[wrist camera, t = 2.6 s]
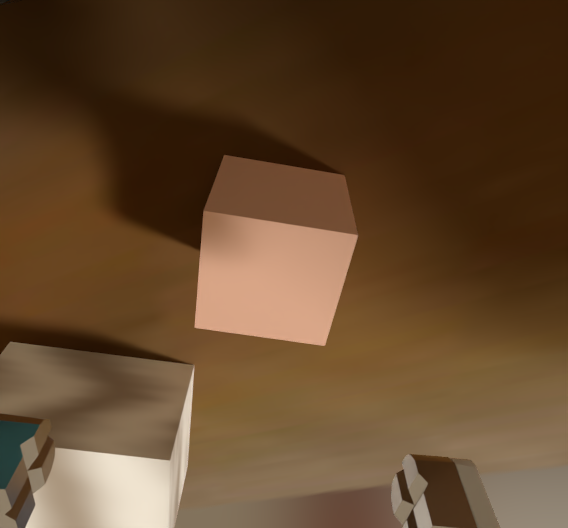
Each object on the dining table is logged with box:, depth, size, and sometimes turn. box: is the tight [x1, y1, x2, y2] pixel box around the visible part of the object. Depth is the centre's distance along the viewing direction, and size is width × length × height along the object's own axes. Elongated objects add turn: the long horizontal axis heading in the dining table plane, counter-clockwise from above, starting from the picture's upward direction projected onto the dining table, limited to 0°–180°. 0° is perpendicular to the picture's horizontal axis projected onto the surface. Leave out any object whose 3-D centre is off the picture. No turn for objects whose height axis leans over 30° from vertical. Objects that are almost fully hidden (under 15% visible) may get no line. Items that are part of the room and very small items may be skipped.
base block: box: [0, 342, 194, 528], centre depth 25 cm, size 10×10×6 cm
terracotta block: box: [195, 155, 358, 346], centre depth 18 cm, size 5×5×5 cm
